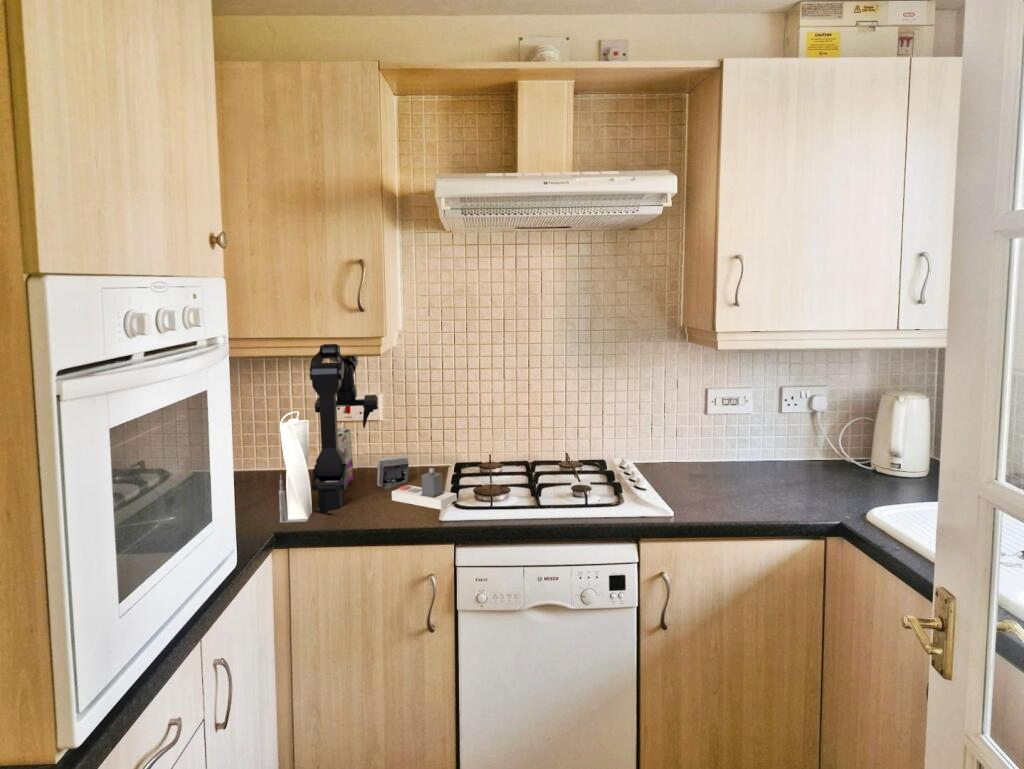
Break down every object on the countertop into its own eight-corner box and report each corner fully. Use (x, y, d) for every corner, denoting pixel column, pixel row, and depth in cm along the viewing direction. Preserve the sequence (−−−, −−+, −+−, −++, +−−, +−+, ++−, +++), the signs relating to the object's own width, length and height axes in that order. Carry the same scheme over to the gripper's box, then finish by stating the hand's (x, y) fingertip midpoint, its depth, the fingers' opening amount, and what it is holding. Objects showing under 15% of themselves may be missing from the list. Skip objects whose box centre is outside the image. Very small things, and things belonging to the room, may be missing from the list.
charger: (434, 505, 201) (432, 471, 200) (422, 503, 203) (421, 469, 202) (443, 501, 205) (442, 467, 203) (431, 499, 207) (430, 466, 205)
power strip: (441, 513, 198) (440, 498, 198) (392, 503, 207) (391, 489, 207) (456, 505, 204) (456, 491, 204) (408, 496, 213) (407, 482, 213)
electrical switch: (407, 482, 228) (406, 453, 226) (411, 488, 224) (411, 458, 222) (376, 486, 225) (376, 456, 223) (380, 492, 220) (380, 462, 218)
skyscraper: (286, 513, 202) (280, 411, 197) (317, 512, 202) (311, 410, 198) (279, 523, 193) (272, 417, 189) (311, 522, 194) (304, 416, 190)
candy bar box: (338, 479, 233) (336, 427, 230) (354, 479, 232) (351, 428, 229) (323, 489, 222) (320, 435, 219) (339, 490, 221) (336, 436, 218)
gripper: (377, 371, 236) (380, 416, 242) (316, 374, 234) (321, 419, 240) (375, 384, 226) (378, 431, 232) (312, 387, 224) (317, 434, 230)
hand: (349, 428), depth 234 cm, fingers open, 9 cm apart
